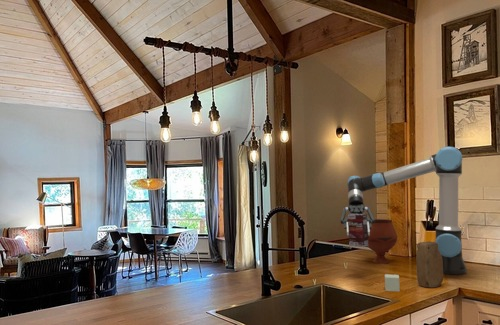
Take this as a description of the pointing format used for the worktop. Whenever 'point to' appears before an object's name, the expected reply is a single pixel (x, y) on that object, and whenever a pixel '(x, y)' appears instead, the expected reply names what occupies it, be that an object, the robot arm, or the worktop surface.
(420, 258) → the block
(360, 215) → the supplement box
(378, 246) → the goblet
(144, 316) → the worktop surface
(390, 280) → the sage cube
